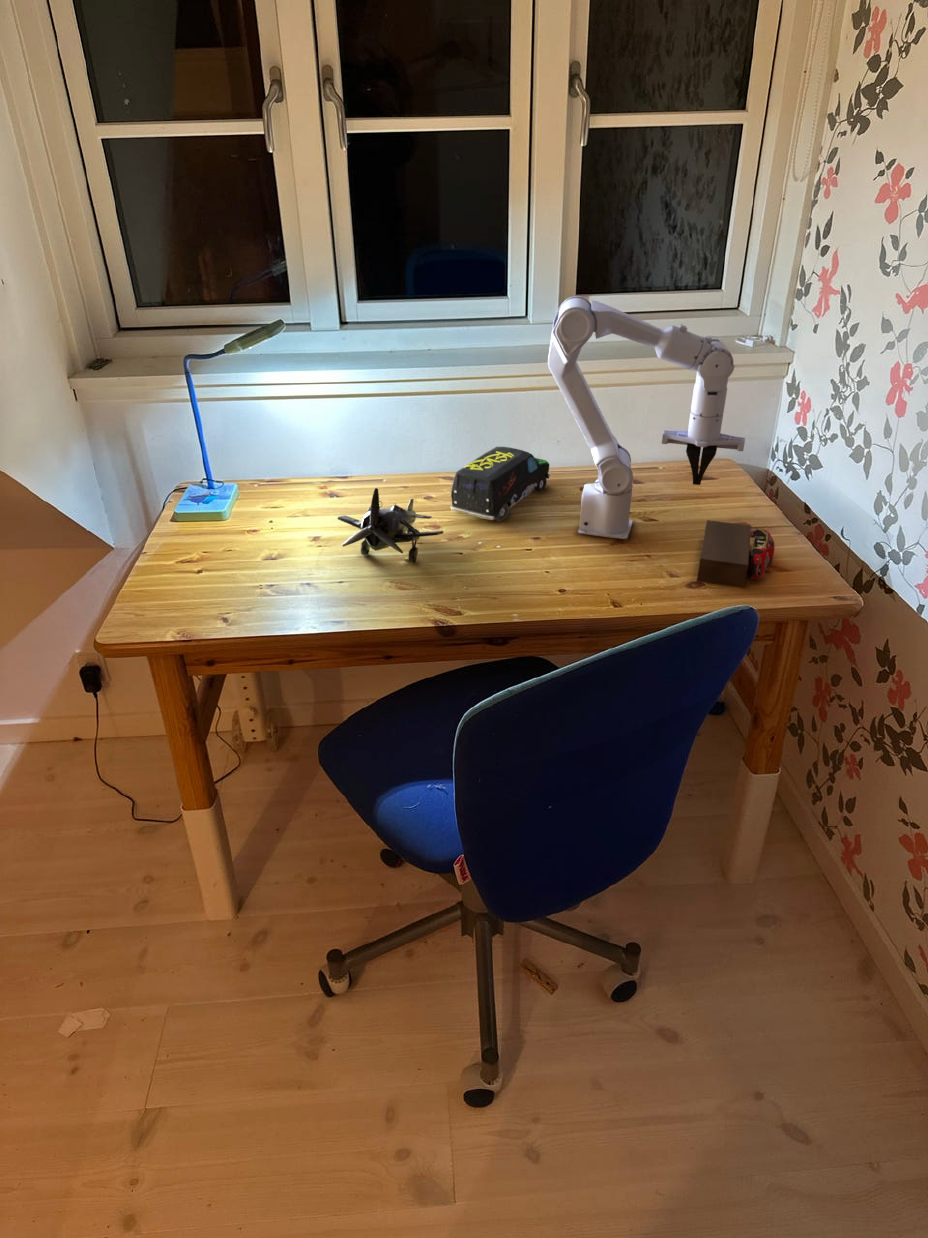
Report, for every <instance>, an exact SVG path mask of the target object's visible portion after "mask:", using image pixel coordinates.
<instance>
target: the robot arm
mask: <svg viewBox="0 0 928 1238" xmlns="http://www.w3.org/2000/svg"><path fill="white" fill-rule="evenodd" d="M594 333H595V334H594ZM593 334H594V335H595V339H601V338H604V337H606V336H610V335H615V336H618V337H620V338H621V337H622V338H624V339H627V340H631V341H632V342H636V343H639V344H642V345H645V346H647V347H651V348H653V349H654V350H655V354H656V357H657V358H658V359H661V360H663V361H666V362H668V363H671V364H673V365H676V366H678V367H681V368H684V369H686V370H688V371H691V372H692V371H695V372H696V375H695V376H696V377H695V383H694V386H693V391H692V398H691V406H690V413H689V421H688V429H687V430H663V432H662V437H661V444H662V445H668V444H675V445H686V449H685V452H686V456H687V459H688V462H689V465H690V468H691V475H692V485H695V486H701V484H702V479H703V477H704V475H705V473H706V471H707V469H708V467H709V465H710V464H711V462H712V461H713V460H714V459H715V457H716V455H717V450H718V449H725V450H726V449H727V450H735V451H737V452H744V449H745V442H746V437H742V436H736V435H731V434H726V433H721V431H722V425H723V419H724V413H725V407H726V399H727V393H728V382H729V377H731V375H732V374H733V373H734V370H735V364H734V357H733V355H732V353H731V351H730V349H729V347H728V346H727V345H726V344H725V343H724V342H722V341H720V340H719V339H718V338H712V337H711V336H709V335H706V336H705V337H703V336H700V335H698V334H696V333H693V332H691V331H688V327H687V326H686V325H684V324H682V323H680V324H679V325H678V326H676V325H673V324H672V325H669V326H667V327H664V328H660V327H658V326H655V325H653V324H651V323H649V322H646V321H644V320H642V319H639V318H637V317H635V316H633V315H631V314H628V313H626V312H624V311H622V310H620V309H617V308H616V307H613V306H610V305H608V304H606V303H604V302H600V301H597V300H593V299H591V300H590V301H589V300H588V299H587V298H585V297H583V296H580V295H573V296H569V297H568V298H566V299H565V300H563V302H562V303H561V304H560V305H559V307H558V310H557V312H556V313H555V315H554V318H553V321H552V328H551V335H550V342H549V343H550V344H549V351H548V357H547V366H548V369H549V371H550V373H551V375H552V377H553V378H554V379H553V380H554V381H555V383H556V384H557V387H558V389H559V391H560V393H561V394H562V397H563V398H564V401H565V402H566V405H567V406H568V408H569V410H570V412H571V414H572V417H573V418H574V420H575V423H576V424H577V426H578V428H579V430H580V431H581V434H582V435H583V438H584V439H585V442H586V444H587V445H588V447H589V449H590V452H591V455H592V458H593V461H594V465H595V467H596V468H597V471H598V477H597V479H596V480H595V481H594V483H584V486H583V489H582V493H581V502H580V512H579V526H578V531H577V532H578V534H581V535H587V536H594V537H602V538H609V539H610V538H611V539H619V540H628V538H629V535H630V533H631V530H632V527H633V523H634V522H633V520H632V519H631V520H630V515H631V506H632V505H631V504H632V496H633V489H634V487H633V486H634V484H633V481H634V474H633V470H632V465H631V464H632V458H631V454H630V452H629V451H628V449H626V448H625V447H624V446H622V445H621V444H620V443H619V441H618V439H617V438H616V436H615V435H614V434H613V432H612V431H611V429H610V426H609V425H608V423H607V421H606V419H605V416H604V415H603V412H602V410H601V408H600V406H599V404H598V402H597V400H596V399H595V396H594V394H593V392H592V391H591V388H590V386H589V384H588V381H587V380H586V377H585V376H584V374H583V371H582V370H581V368H580V366H579V363H578V362H577V360H578V358H579V355H580V353H581V351H582V348H583V347H584V346H585V345H586V344H587V343H588V342H589V340H590V339H591V338H592V336H593Z"/></svg>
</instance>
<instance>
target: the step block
mask: <svg viewBox="0 0 928 1238" xmlns="http://www.w3.org/2000/svg"><path fill="white" fill-rule="evenodd" d="M751 531H752V525H750V524H742V523H734V522H727V521H726V522H725V521H717V520H711V519H710V520H709V519H707V520H706V523H705V527H704V535H703V540H702V545H701V551H700V556H699V561H698V568H697V574H696V582H700V583H707V584H716V585H723V586H730V587H736V588H744V587H745V584H746V578H747V575H748V569H749V568H748V567H749V559H750V557H749V555H750V546H751V535H752V532H751Z"/></svg>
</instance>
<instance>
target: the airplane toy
mask: <svg viewBox="0 0 928 1238" xmlns="http://www.w3.org/2000/svg"><path fill="white" fill-rule="evenodd" d="M414 500H415V499H414V498H412V497H410V499H409V502H408V505H407V508H406V509H404V508H403V507H401V506H398V505H397V504H398V503H397V502H395V503H394V504H392V505H391V506H390V507H389V508H382V507H383V505H380V504H383V502H382V501H381V500H380V493H379V489H378V488H377V487H375V488H374V489H373V493H372V497H371V503H370V507H368V508H367V510H366V513H364V514H363V517H362V518H361V519H362V520H359V519H356V518H355V517H351V516H348V515H339V516H337V520H338V521H341V522H343V523H345V524H348V525H351V526H352V527H355V528H357V529H359V531H357V532H355V533H354V534H353V535H352V536H350V537H349V538H348V539H347V540H345V541H344V542H343V543H342V544H341V546H342V547H347V546H349V545H352V544H354V543H357V542H359V541H361V540H362V542H361V543H360V554H361V556H364V557H366V556H368V555H369V553H370V550H371V549H372V550H374V551H375V552H376V551H381V550H383V549H387V548H389V547H391V548H392V549H393V550H396V551H397V552H399V553H400V554H404V550H402V549H401V547H399V545H398V544H402V543H409V542H411V548H410V549H409V550H408V563H409V564H411V565H413V564H416V563H417V559H418V556H419V555H418V554H419V547H417V541H418V540H419V539H420V537H432V536H439V535H443V534H444V530H432V531H419V529H418V528H415V527H413V525H414V524H415V521H416V519H432V518H433V516H430V515H425V514H418V513H417V512H416V511H415V510H414Z"/></svg>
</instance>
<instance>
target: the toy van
mask: <svg viewBox="0 0 928 1238" xmlns="http://www.w3.org/2000/svg"><path fill="white" fill-rule="evenodd" d="M549 472H550V463H549V461H547V460H545V459H543V458H538V457H535V456H534V455H533V453H531V452H528V451H525V450H523V449H519V448H514V447H508V446H495V447H493V448H492V449H490V450H488V451H486V452H484V453H483V454H481V455H480V456H478V457H476V458H475V459H473V460H472V461H470V462H469V463H467V464H466V465H464V466H463V467H461V468H460V469H458V470H457V471H456V472H455V475H454V477H453V481H452V486H451V491H450V494H451V495H450V498H451V505H450V509H451V511H454V512H458V513H461V514H465V515H469V516H472V517H476V518H479V519H483V520H484V519H485V520H488V521H494V520H495V521H499V522H500V521H503V520H504V519H505V518H507V517H508V516H509V513H510V508H512V507H513V506H515V505H516V504H517V503H519V502H521V500H523V499H524V498H525V497H527V496H528V495H529V494H531V493H532V492H535V493H541V492H543V491H544V490H546V486H547V480H550V478H551V474H550V473H549Z"/></svg>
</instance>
